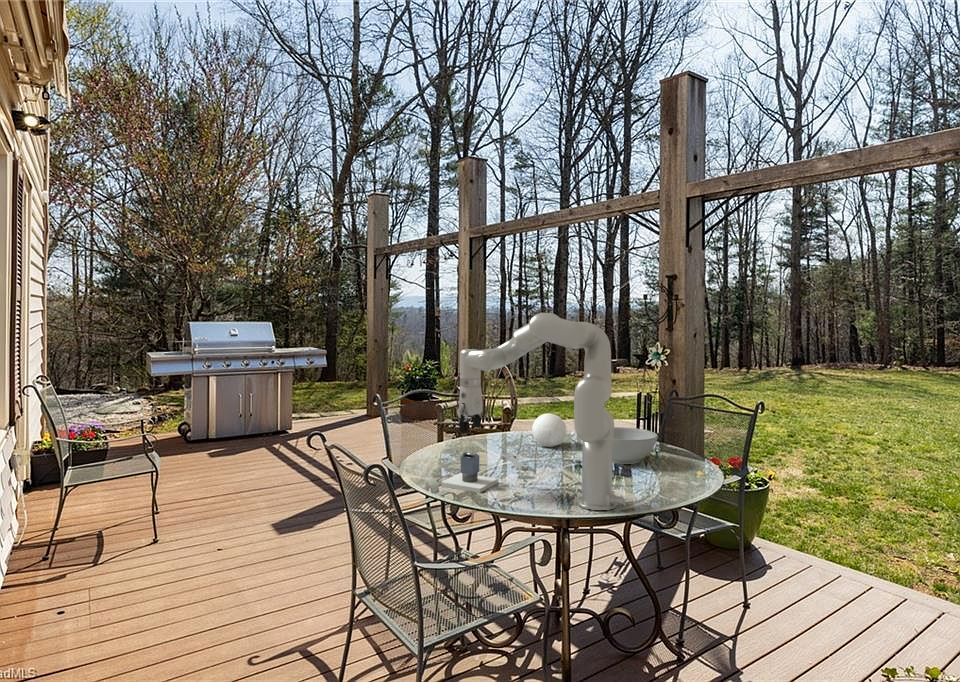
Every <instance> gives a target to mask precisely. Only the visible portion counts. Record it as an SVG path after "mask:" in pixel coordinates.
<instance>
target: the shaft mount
mask: <svg viewBox="0 0 960 682" xmlns="http://www.w3.org/2000/svg"><path fill="white" fill-rule="evenodd" d="M478 473H479V472H477V473H475V474H473V475H471V474H465V473H461V472H460V473H458V474H455V475H452V476H451V477H449V478H447V479H444V480H442V481H440V486H441V487H445V488H450V489H456V490H462V491H465V492H471V493H472V492H473V493H478V494H480V493H482V492H483V491H484V492H485V491H486V490H488V489H489V488H491V487H493V486H494V485H496V484H498V483H499V478H498V477H490V476H484V475H478Z"/></svg>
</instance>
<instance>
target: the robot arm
mask: <svg viewBox="0 0 960 682" xmlns="http://www.w3.org/2000/svg"><path fill="white" fill-rule="evenodd" d="M547 342H548V343H550V344H554V345H558V346H561V347H564V348H568V349H575V350H578V349H584V352H585V354H584V360H583V361H584V362H583V366H584V367H583V369H584V373H583V375H584V376H583V378H581V380H580V381H578V382H577V384H576V386H575V389H574V393H573V412H574V413H573V426H574V430H575V434H576V435H577V437H578V438H579V439H580V440H581V441H582V449H581V450H582V451H581V452H582V453H581V454H582V455H581V459H582V460H581V463H582V464H581V496H580V497H577V499H576V505H577V506H578V507H580V508H582V509H585V510H588V509H591V510H590V511H594V510H607V511H611V510H610V509H612V510H614V509H616V507H617V505H623V506H624V505H625V503H626V499H625V498H624V497H623V496H619V495H616V494H615V490H613V486H612V485H613V462H612V447H613V435H614V427H615V421H614V420H615V419H614V417H613V415H612V414H611V413H610V411H609V410H607V409H605V403H606V402H607V401H608V400H609V399H610V398H611V395H612V388H613V387H612V350H611V342H610V340H609V337H608V334H606V332H605V331H604V330H603V329H602V328H601V327H599V326H598V325H596V324H594V323H591V322H587V321H573V320H569V319H565V318H561V317H559V315H557V314H555V313H552V312H539V313H537V314H534V316H532V317H531V319H530V320H529V322H528V323H527V324H525V325H523V326H521V327H520V328H518V329H516V330H515V331H514V332H513V336H512V337H511V338H510V339H509V340H507V341H506V342H504V343H503V344H501V345H499V346H497V347H495V348H487V349H476V348H472V349H471V348H467V349H466V348H465V349H462V350H460V352H459V388H460V389H459V398H458V408H457V409H456V415H457V418H458V419H457V420H458V422H459V423H458V424H459V426H458V427H459V429H458V431H459V433H464V434H467V433H468V432H469V430H468V429H469V428H468V427H469V425H468V423H469V422H468V418H469V416H471V417H472V427H473V428H475V429H481V428H482V413H483V410H484V408H483V407H484V403H483V391H482V385H481V382H482V381H481V380H482V379H481V376H482V375H481V374H482V372H481V371H484V372H485V371H488V372H489V371H493V370H499V369H502V368H504V367H506V366H507V365H510V364H511V363H513V362H516V361H517V360H518V359H520V358H521V357H523V356H525V355H526V354H527V353H529V352H530V351H533V350H534V349H536V348H538V347H540V346H541V345H543V344H545V343H547Z"/></svg>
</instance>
